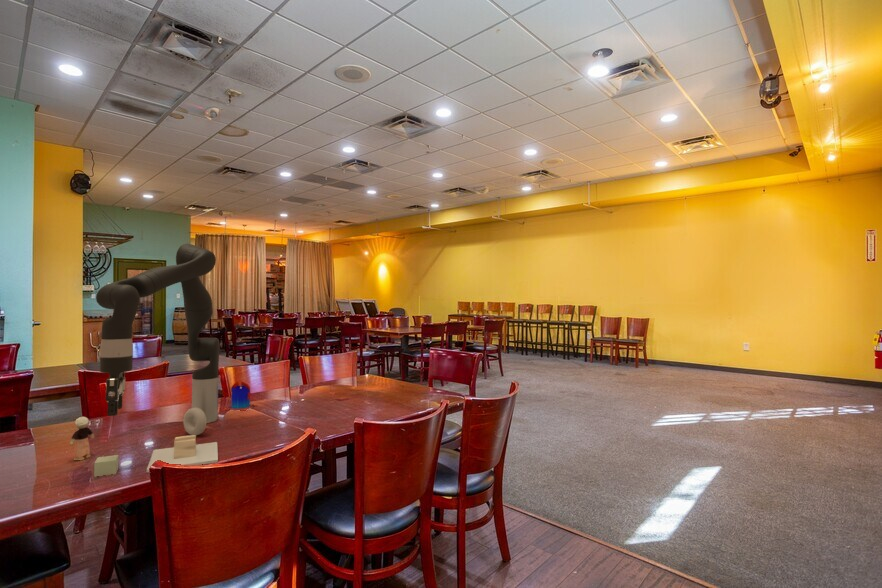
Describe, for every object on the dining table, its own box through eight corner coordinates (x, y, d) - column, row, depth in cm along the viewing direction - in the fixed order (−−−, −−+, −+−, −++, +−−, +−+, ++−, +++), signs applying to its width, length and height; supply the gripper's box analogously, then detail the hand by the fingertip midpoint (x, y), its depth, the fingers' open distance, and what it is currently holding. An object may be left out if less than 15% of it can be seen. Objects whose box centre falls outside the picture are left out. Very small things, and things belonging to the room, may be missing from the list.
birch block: (175, 453, 138) (175, 437, 138) (195, 450, 140) (195, 434, 140) (173, 459, 133) (174, 442, 133) (194, 456, 135) (195, 439, 135)
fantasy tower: (219, 410, 192) (220, 383, 192) (236, 404, 203) (237, 378, 203) (244, 412, 190) (245, 384, 190) (260, 405, 201) (260, 379, 202)
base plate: (153, 452, 140) (153, 449, 140) (217, 444, 149) (217, 441, 149) (146, 472, 124) (146, 469, 124) (217, 462, 133) (217, 459, 133)
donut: (208, 436, 157) (209, 408, 157) (199, 438, 154) (200, 410, 154) (189, 432, 161) (190, 404, 161) (180, 434, 158) (181, 407, 158)
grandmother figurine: (83, 454, 138) (84, 413, 138) (96, 454, 138) (97, 413, 138) (64, 463, 130) (65, 420, 130) (78, 463, 130) (79, 420, 130)
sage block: (97, 471, 125) (97, 457, 125) (118, 468, 127) (118, 454, 127) (94, 477, 121) (94, 463, 121) (115, 474, 123) (115, 460, 123)
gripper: (129, 356, 120) (127, 416, 120) (135, 351, 133) (134, 405, 132) (95, 358, 117) (93, 419, 116) (104, 352, 129) (103, 408, 129)
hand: (115, 412), depth 124 cm, fingers open, 8 cm apart
